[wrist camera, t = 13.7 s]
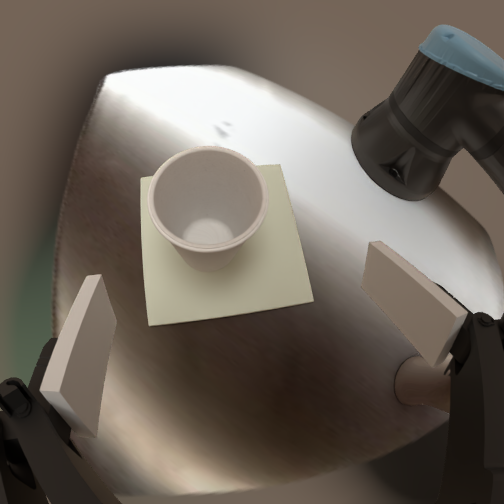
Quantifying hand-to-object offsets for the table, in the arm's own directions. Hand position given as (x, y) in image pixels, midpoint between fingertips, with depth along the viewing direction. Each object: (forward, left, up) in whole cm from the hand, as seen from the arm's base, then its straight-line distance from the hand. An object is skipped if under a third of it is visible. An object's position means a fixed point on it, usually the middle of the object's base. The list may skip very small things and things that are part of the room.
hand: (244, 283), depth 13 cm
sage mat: (-1, -8, -15) cm, 17 cm away
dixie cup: (+1, -7, -14) cm, 16 cm away
